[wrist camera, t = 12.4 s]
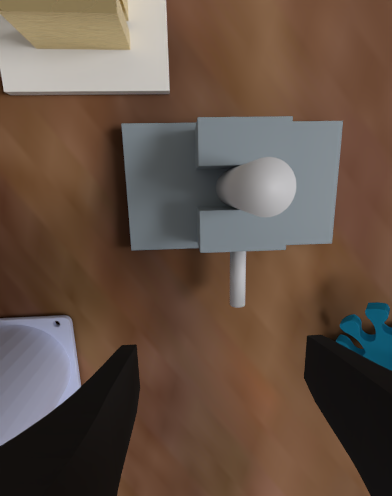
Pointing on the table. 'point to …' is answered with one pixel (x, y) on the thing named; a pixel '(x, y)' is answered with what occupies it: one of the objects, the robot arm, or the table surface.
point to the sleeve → (70, 23)
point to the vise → (231, 186)
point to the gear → (375, 346)
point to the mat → (91, 60)
